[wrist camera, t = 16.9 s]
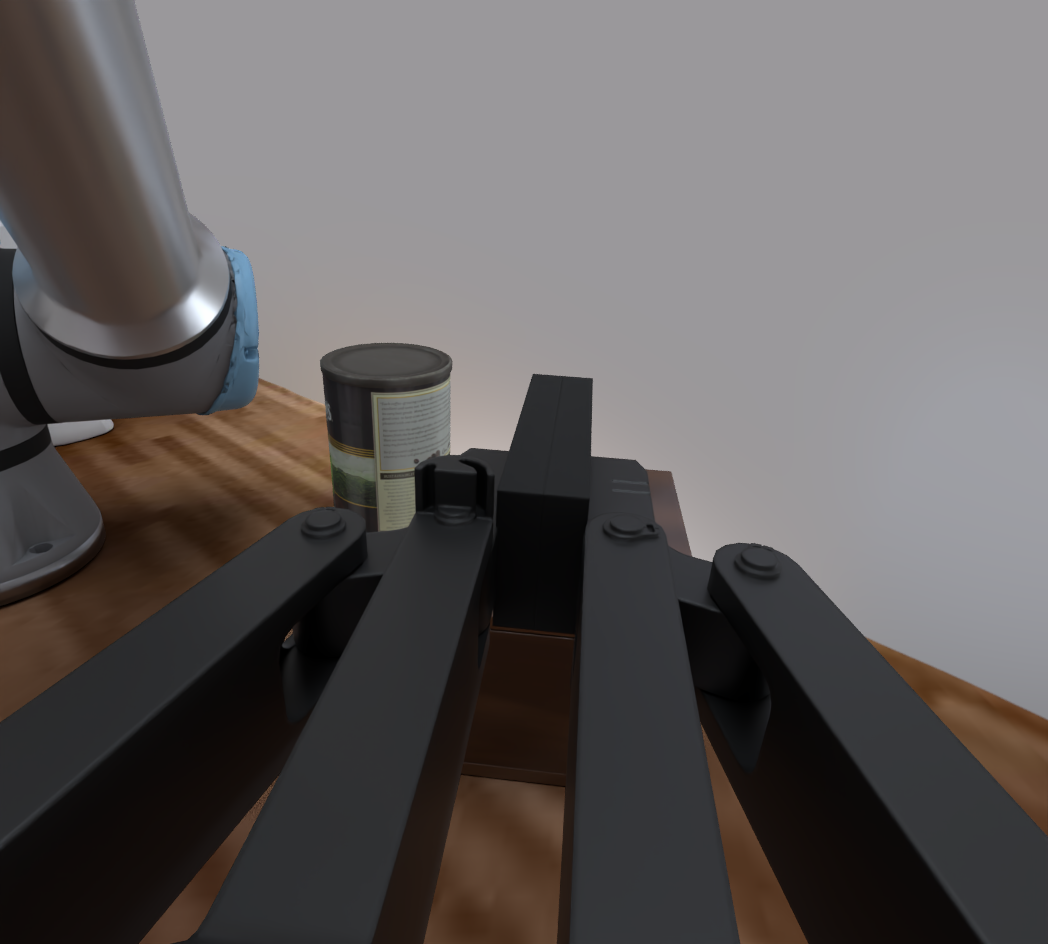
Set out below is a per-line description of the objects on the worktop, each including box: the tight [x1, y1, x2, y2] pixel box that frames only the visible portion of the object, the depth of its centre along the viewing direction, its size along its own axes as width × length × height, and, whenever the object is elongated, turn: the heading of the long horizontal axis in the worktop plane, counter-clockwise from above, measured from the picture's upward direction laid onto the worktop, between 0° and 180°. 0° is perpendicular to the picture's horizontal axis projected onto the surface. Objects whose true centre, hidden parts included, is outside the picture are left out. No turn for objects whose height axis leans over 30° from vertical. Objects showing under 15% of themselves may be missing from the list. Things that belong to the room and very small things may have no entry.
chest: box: [461, 629, 574, 786], centre depth 39 cm, size 17×14×9 cm
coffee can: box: [320, 343, 452, 533], centre depth 55 cm, size 10×10×14 cm
